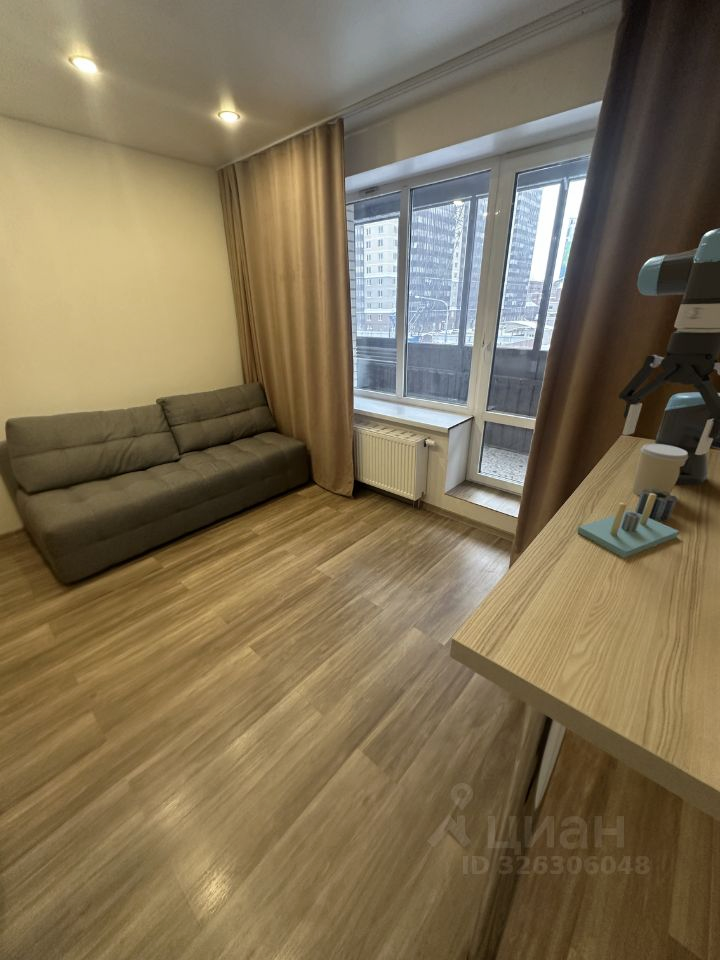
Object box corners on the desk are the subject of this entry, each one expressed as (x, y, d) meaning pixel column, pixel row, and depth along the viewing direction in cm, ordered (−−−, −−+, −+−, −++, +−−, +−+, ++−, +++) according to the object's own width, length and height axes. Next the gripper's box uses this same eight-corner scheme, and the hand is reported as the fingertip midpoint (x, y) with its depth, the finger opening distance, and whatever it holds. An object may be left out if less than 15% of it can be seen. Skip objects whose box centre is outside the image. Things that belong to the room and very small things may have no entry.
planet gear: (646, 505, 91) (652, 487, 88) (675, 517, 85) (683, 498, 83) (629, 511, 88) (635, 492, 86) (658, 524, 83) (666, 504, 81)
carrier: (628, 515, 86) (639, 482, 83) (676, 537, 78) (691, 501, 74) (577, 532, 80) (586, 497, 76) (623, 558, 72) (637, 519, 68)
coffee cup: (680, 503, 92) (698, 457, 87) (637, 499, 93) (653, 454, 88) (660, 486, 100) (676, 444, 95) (622, 484, 102) (635, 442, 97)
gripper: (616, 328, 76) (592, 429, 85) (783, 334, 55) (727, 467, 64) (640, 327, 79) (613, 424, 88) (807, 332, 58) (750, 459, 67)
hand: (661, 443), depth 76 cm, fingers open, 13 cm apart
